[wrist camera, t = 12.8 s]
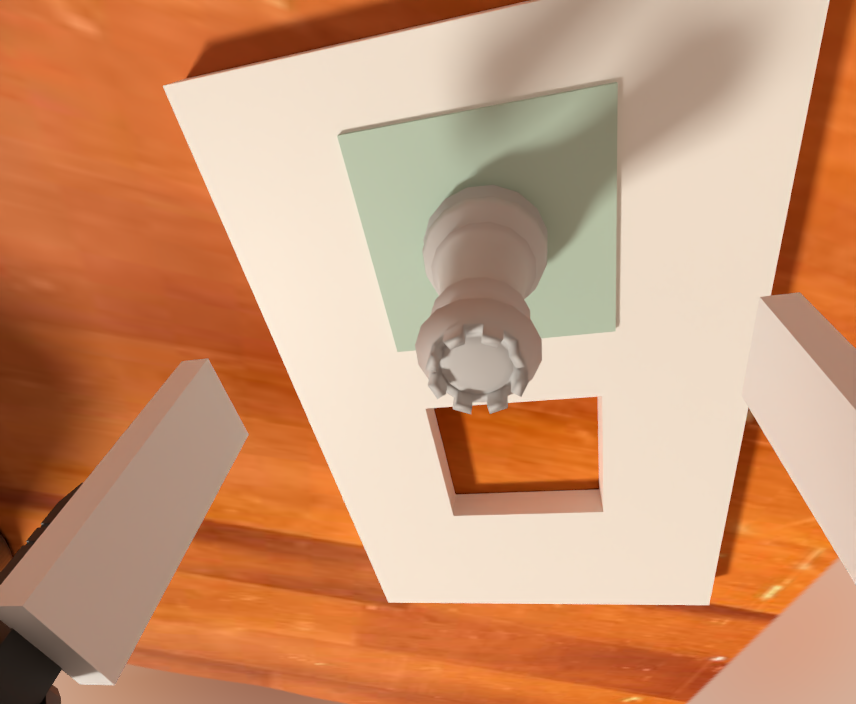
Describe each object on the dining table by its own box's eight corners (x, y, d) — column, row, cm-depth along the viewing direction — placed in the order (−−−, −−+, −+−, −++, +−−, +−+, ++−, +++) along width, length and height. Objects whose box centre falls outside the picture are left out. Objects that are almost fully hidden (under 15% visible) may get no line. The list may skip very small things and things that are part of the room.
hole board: (392, 581, 36) (387, 605, 35) (184, 78, 19) (159, 87, 17) (701, 581, 32) (710, 608, 31) (814, -65, 14) (847, -69, 13)
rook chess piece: (460, 156, 17) (435, 261, 11) (572, 217, 18) (611, 349, 12) (405, 262, 20) (359, 398, 13) (506, 312, 21) (508, 463, 14)
